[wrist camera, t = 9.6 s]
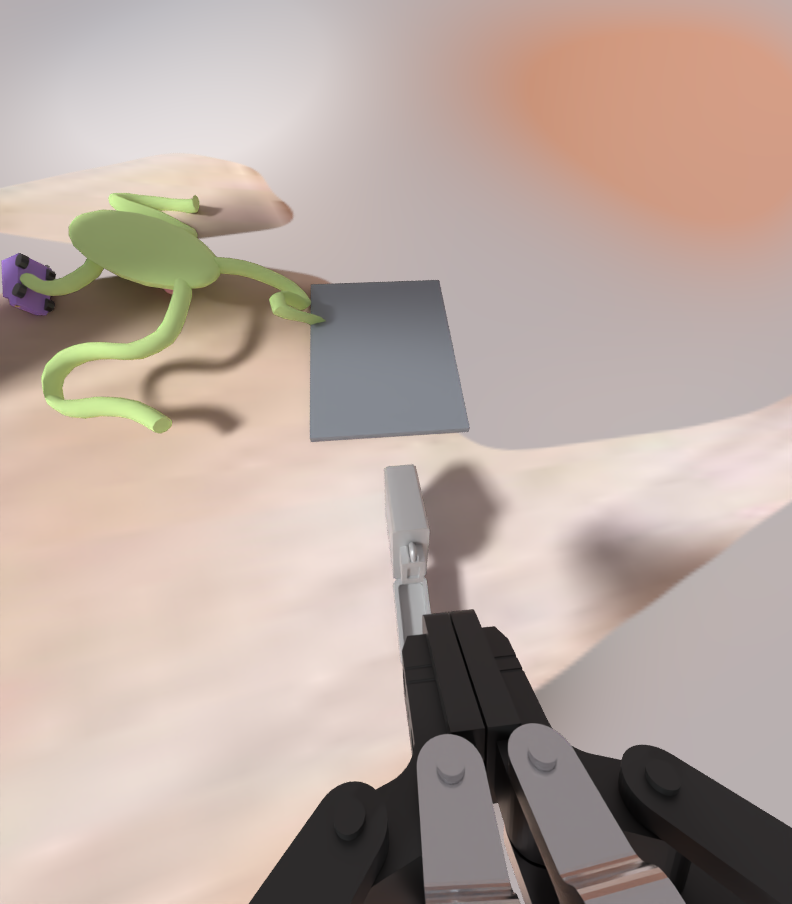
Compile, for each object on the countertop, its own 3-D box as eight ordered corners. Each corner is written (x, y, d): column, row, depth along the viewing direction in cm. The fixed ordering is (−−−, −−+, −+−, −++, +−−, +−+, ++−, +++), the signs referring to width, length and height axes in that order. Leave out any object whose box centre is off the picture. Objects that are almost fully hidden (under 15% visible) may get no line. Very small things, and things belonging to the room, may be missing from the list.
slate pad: (311, 441, 28) (309, 438, 27) (311, 289, 34) (310, 284, 34) (468, 431, 28) (469, 428, 28) (438, 284, 35) (438, 280, 35)
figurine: (131, 493, 26) (72, 453, 21) (-13, 276, 34) (-80, 211, 29) (352, 349, 32) (347, 292, 27) (183, 196, 41) (156, 131, 36)
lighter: (383, 466, 21) (403, 609, 16) (415, 464, 22) (447, 604, 16) (386, 544, 26) (402, 676, 20) (412, 542, 26) (436, 672, 20)
